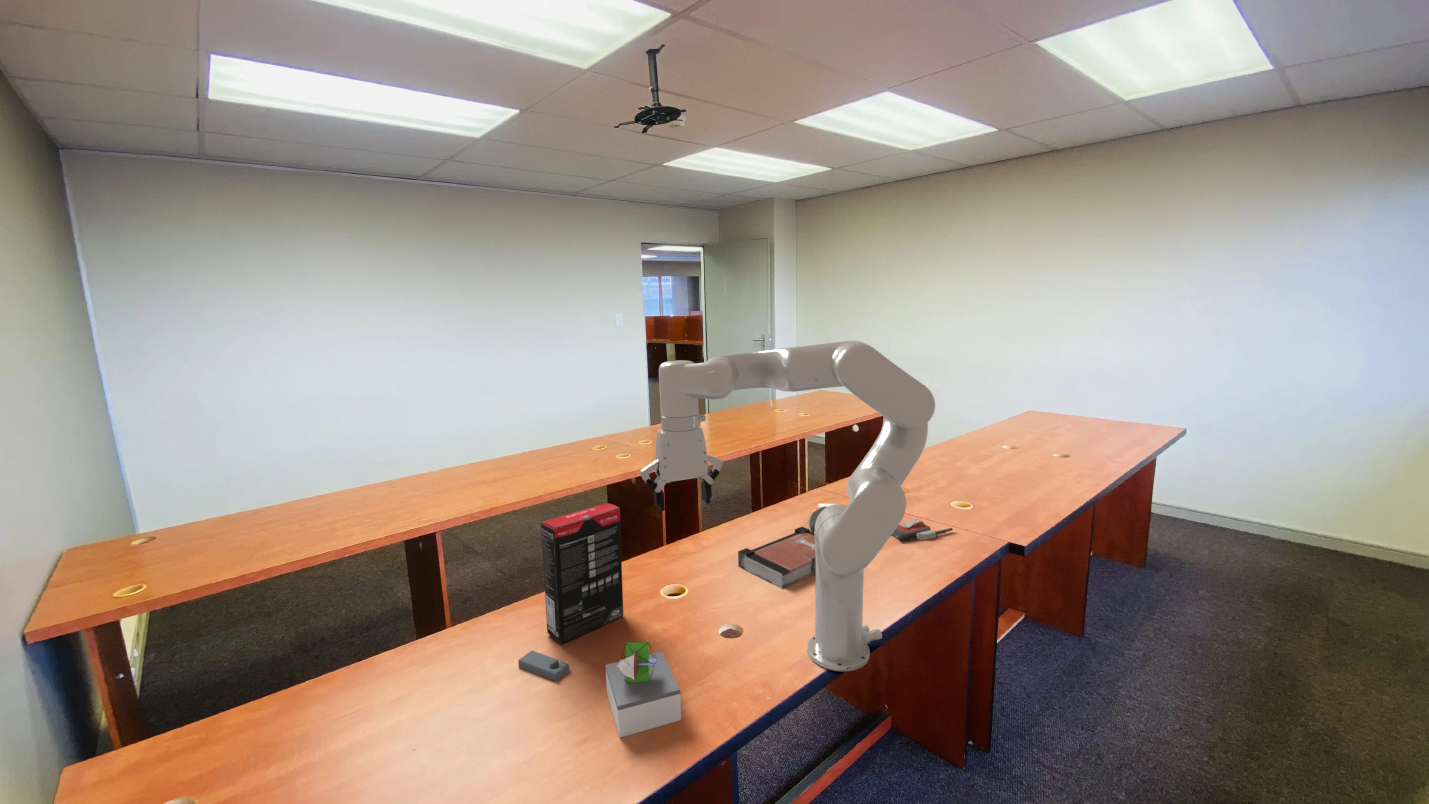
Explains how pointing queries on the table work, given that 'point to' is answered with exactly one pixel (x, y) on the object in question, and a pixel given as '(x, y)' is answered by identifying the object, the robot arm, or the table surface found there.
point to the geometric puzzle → (636, 662)
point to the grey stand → (643, 698)
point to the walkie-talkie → (916, 531)
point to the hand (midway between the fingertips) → (683, 505)
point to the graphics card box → (582, 571)
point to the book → (782, 558)
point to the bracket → (543, 665)
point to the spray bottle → (815, 515)
